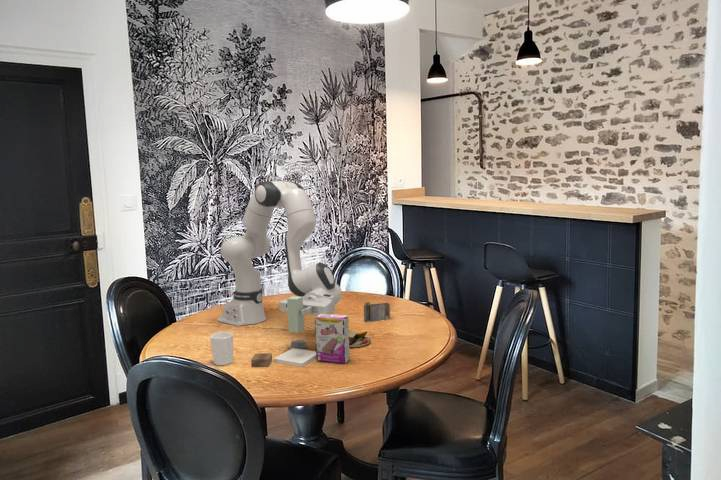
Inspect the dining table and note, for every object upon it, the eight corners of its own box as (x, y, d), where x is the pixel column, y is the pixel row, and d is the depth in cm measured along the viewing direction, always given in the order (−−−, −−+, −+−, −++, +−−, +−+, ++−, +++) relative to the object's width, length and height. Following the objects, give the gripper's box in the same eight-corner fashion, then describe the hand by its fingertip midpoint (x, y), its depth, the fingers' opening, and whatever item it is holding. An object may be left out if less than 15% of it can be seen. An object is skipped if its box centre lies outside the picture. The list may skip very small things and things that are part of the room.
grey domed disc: (287, 349, 201) (287, 343, 200) (296, 344, 206) (296, 338, 206) (301, 351, 198) (300, 345, 198) (309, 346, 203) (309, 340, 203)
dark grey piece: (365, 323, 232) (365, 301, 231) (364, 321, 235) (363, 300, 234) (390, 321, 235) (390, 299, 233) (388, 319, 238) (388, 298, 236)
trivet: (274, 361, 188) (273, 358, 188) (292, 351, 199) (292, 347, 198) (302, 366, 183) (302, 363, 182) (320, 355, 193) (320, 352, 193)
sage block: (288, 331, 188) (287, 298, 186) (295, 328, 192) (293, 295, 190) (298, 332, 186) (296, 299, 185) (304, 329, 190) (302, 296, 188)
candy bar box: (315, 361, 187) (313, 316, 185) (321, 356, 192) (319, 312, 189) (345, 364, 183) (343, 318, 181) (350, 359, 188) (348, 315, 186)
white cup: (214, 358, 193) (212, 332, 191) (236, 357, 193) (234, 331, 192) (210, 366, 185) (208, 339, 184) (233, 365, 186) (231, 338, 184)
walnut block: (251, 367, 184) (251, 359, 183) (255, 361, 190) (255, 353, 189) (268, 367, 184) (268, 359, 183) (272, 361, 189) (271, 353, 189)
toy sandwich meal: (363, 350, 198) (363, 338, 197) (330, 347, 203) (330, 335, 202) (375, 340, 209) (374, 328, 208) (343, 337, 214) (343, 325, 214)
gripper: (291, 292, 204) (269, 301, 191) (337, 296, 195) (318, 305, 182) (292, 308, 205) (270, 317, 192) (338, 313, 196) (319, 323, 183)
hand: (294, 312), depth 187 cm, fingers closed on sage block, 4 cm apart
